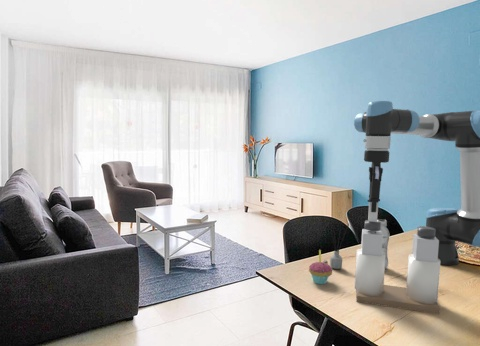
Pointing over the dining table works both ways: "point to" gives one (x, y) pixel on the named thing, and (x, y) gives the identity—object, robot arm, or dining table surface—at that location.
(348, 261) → the dining table surface
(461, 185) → the robot arm
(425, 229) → the plunger
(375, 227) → the plunger
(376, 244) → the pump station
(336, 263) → the reed diffuser
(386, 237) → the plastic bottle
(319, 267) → the cupcake
